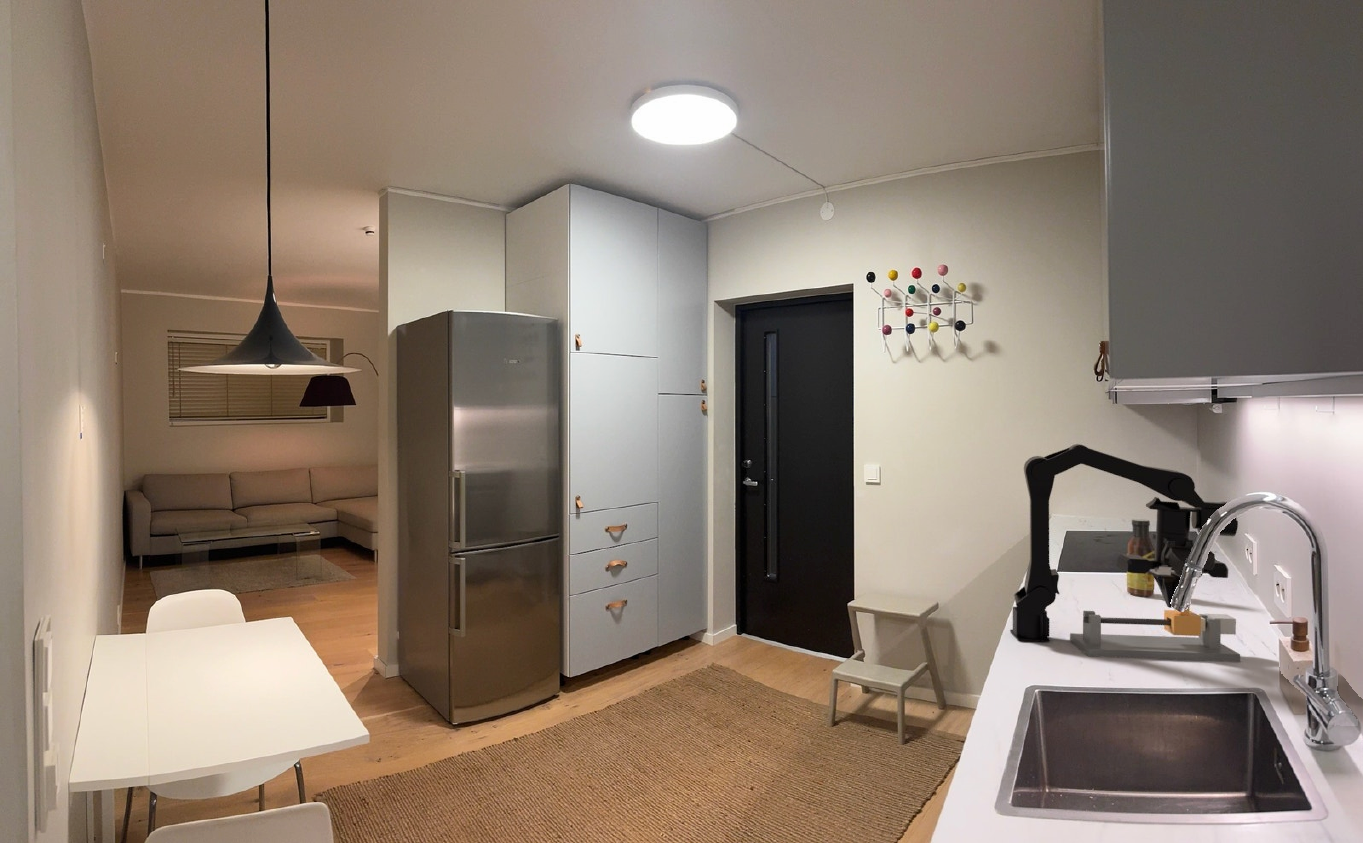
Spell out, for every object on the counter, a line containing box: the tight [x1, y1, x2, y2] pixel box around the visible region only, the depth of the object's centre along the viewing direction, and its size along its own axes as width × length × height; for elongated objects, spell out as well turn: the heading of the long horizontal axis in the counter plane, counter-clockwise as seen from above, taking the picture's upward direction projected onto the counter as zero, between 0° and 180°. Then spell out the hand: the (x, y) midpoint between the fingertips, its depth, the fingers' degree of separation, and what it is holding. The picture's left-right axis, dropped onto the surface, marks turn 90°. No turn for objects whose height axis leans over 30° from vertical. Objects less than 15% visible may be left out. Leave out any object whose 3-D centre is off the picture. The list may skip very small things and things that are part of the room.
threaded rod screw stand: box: [1069, 610, 1241, 663], centre depth 151 cm, size 29×10×8 cm, turn 81°
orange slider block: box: [1163, 605, 1201, 637], centre depth 150 cm, size 5×4×8 cm
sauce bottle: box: [1126, 518, 1155, 597], centre depth 194 cm, size 7×6×20 cm
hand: (1169, 607), depth 151 cm, fingers closed
